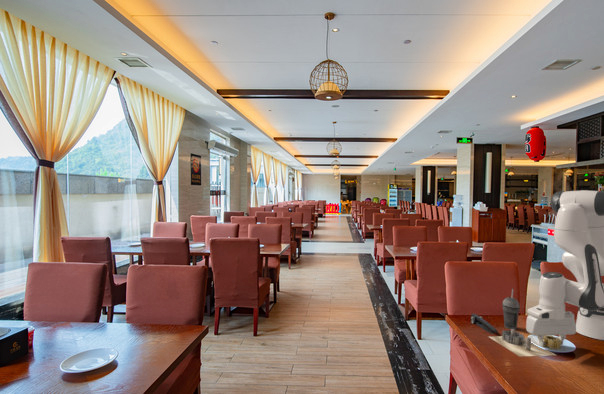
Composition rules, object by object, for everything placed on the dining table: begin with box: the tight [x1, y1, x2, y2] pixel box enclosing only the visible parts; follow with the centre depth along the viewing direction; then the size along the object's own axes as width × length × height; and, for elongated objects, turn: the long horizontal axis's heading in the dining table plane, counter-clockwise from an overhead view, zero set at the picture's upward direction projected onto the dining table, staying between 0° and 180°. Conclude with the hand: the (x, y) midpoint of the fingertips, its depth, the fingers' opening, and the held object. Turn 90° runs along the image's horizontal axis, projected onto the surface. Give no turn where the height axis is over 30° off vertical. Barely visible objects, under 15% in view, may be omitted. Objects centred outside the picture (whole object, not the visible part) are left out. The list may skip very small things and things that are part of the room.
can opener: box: [470, 313, 498, 335], centre depth 155 cm, size 18×7×6 cm, turn 2°
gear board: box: [488, 329, 557, 357], centre depth 136 cm, size 16×18×6 cm
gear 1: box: [501, 329, 526, 345], centre depth 141 cm, size 8×8×3 cm
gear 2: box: [542, 335, 562, 350], centre depth 137 cm, size 7×7×4 cm
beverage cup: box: [501, 288, 521, 331], centre depth 155 cm, size 7×7×20 cm
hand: (550, 344), depth 137 cm, fingers closed on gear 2, 7 cm apart
